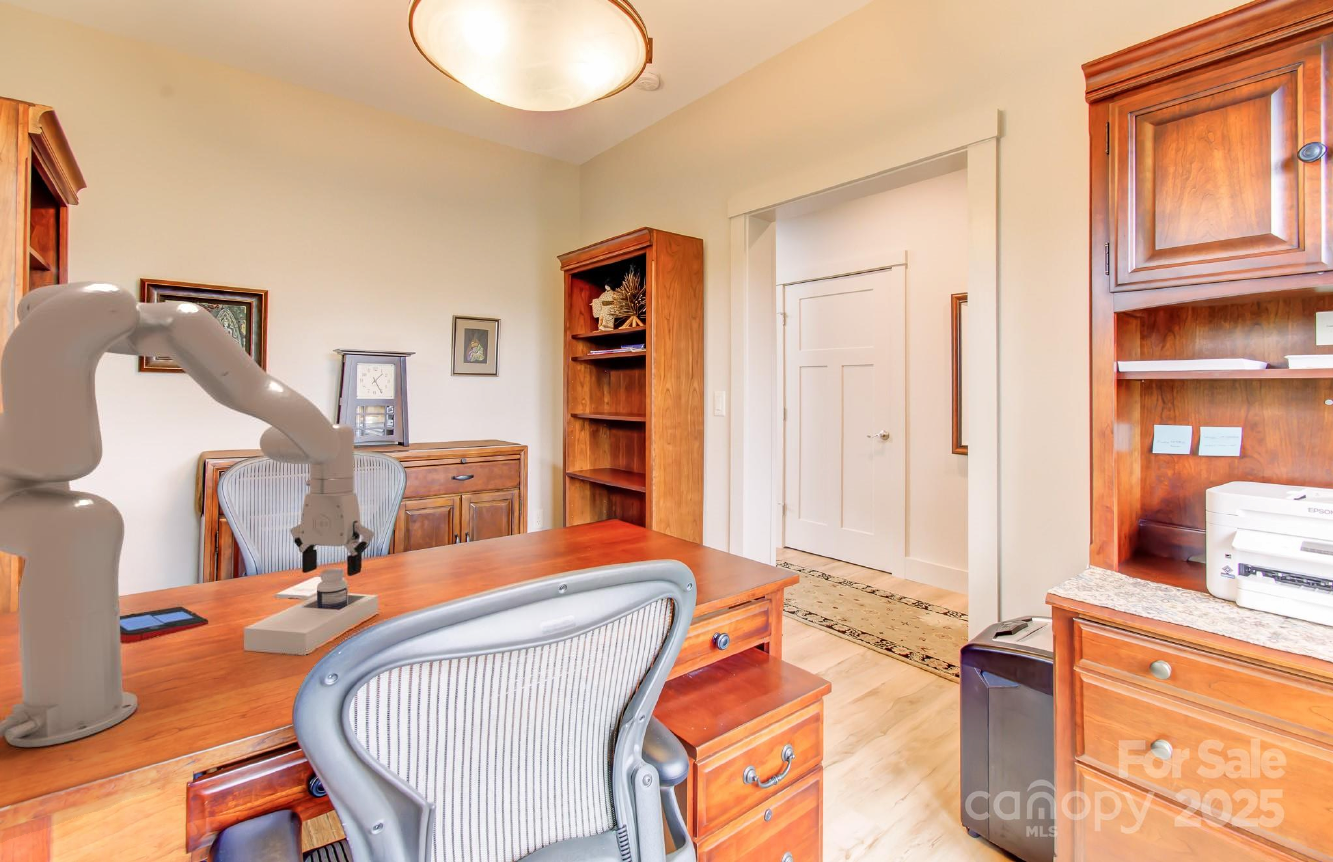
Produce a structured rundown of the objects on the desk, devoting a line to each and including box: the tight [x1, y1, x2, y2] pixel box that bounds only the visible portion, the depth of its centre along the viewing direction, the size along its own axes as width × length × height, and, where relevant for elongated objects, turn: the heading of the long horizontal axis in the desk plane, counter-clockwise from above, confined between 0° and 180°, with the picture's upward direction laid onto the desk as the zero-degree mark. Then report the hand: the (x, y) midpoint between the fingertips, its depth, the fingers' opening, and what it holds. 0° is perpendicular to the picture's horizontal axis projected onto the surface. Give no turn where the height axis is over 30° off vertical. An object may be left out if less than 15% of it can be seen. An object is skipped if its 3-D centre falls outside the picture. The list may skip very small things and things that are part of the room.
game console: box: [120, 606, 209, 644], centre depth 115 cm, size 14×13×2 cm
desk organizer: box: [243, 592, 379, 656], centre depth 113 cm, size 20×12×4 cm, turn 172°
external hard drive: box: [274, 576, 345, 600], centre depth 137 cm, size 2×8×12 cm
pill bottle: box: [317, 567, 349, 610], centre depth 118 cm, size 5×5×10 cm
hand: (331, 572), depth 117 cm, fingers open, 9 cm apart
